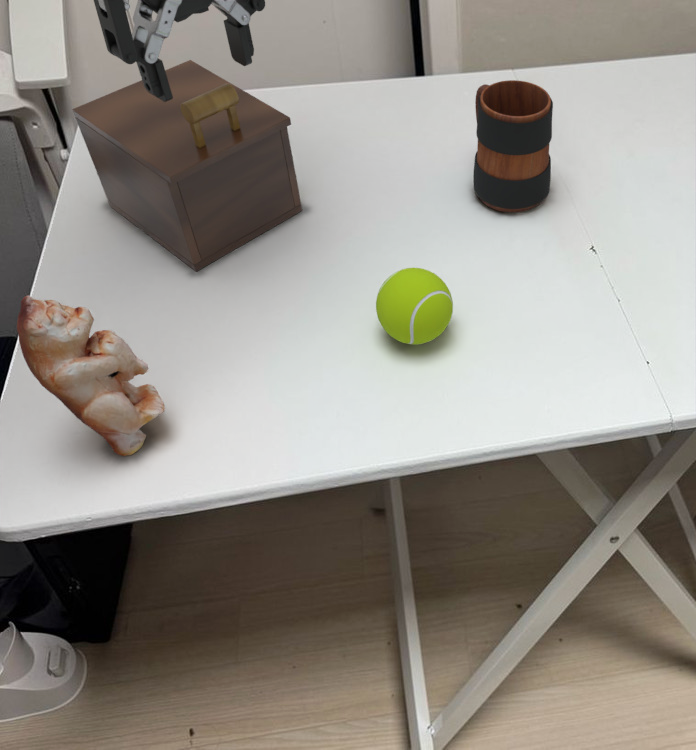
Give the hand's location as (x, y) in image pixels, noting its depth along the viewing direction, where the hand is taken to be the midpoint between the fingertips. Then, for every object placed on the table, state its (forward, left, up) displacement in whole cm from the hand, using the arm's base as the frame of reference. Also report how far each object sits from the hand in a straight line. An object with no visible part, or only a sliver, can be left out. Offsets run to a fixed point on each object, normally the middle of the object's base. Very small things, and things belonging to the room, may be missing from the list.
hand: (203, 79), depth 75 cm
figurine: (-7, -26, -18) cm, 33 cm away
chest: (-4, +5, -18) cm, 19 cm away
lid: (-4, +5, -7) cm, 9 cm away
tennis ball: (+18, -16, -18) cm, 30 cm away
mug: (+29, +7, -18) cm, 34 cm away
